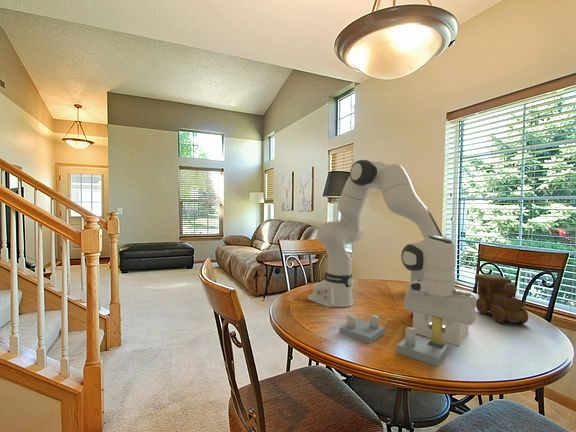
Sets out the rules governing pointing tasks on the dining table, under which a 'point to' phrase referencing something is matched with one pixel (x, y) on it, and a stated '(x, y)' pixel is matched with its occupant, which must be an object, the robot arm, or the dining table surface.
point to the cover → (453, 336)
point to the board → (362, 328)
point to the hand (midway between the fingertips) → (437, 330)
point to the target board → (422, 348)
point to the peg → (437, 330)
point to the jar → (416, 275)
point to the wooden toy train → (499, 299)
